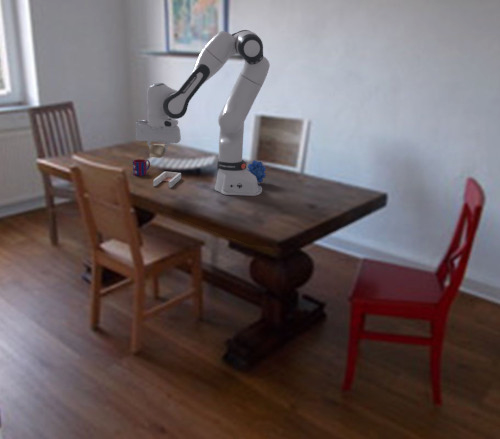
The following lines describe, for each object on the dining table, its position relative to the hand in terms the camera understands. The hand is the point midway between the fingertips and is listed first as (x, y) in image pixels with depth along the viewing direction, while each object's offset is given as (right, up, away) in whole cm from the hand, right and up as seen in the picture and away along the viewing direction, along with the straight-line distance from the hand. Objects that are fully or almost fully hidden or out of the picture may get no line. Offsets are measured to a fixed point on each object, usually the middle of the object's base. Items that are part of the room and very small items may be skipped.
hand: (158, 151), depth 250 cm
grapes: (+45, -14, +21) cm, 51 cm away
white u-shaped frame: (+1, -13, +18) cm, 22 cm away
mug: (-13, -8, +31) cm, 34 cm away
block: (0, -2, -1) cm, 2 cm away
